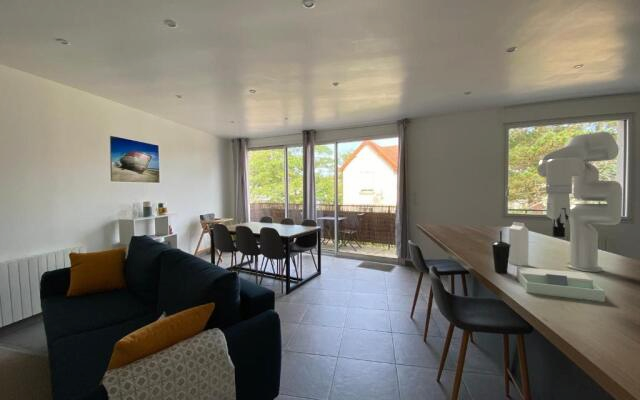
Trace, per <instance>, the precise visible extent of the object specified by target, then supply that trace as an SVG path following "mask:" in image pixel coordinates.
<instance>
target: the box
mask: <svg viewBox="0 0 640 400" xmlns="http://www.w3.org/2000/svg"><path fill="white" fill-rule="evenodd" d="M567 283H568V286H559V285H549V284H546V278H541V277H530V276H521V284H520V285H521V286H522V288H523V290H524V291H525V292H526V294H535V295H541V296H542V295H543V296H552V297H560V298H569V299H576V300H583V299H585V300H586V301H591V300H592V301H593V302H601V303H605V302H606V299H605V298H606V291H605V290H604V289H603V288H601V287H600V286H599V285H597V284H596V283H594V282H593V283H592V282H582V281H571V280H567Z"/></svg>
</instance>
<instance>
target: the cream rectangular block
mask: <svg viewBox="0 0 640 400" xmlns="http://www.w3.org/2000/svg"><path fill="white" fill-rule="evenodd" d="M546 274H552V275H562V276H567V280H571V281H582V282H592V283H594V280H593V278H592V277H590V276H588V275H587V274H585V273H584V272H581V271H579V272H578V271H577V272H576V271H566V270H558V269H557V270H555V269H545V268H533V267H524V266H516V279H517V281H518V282H519V283H521V276H530V277H541V278H546V277H545V275H546Z"/></svg>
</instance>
